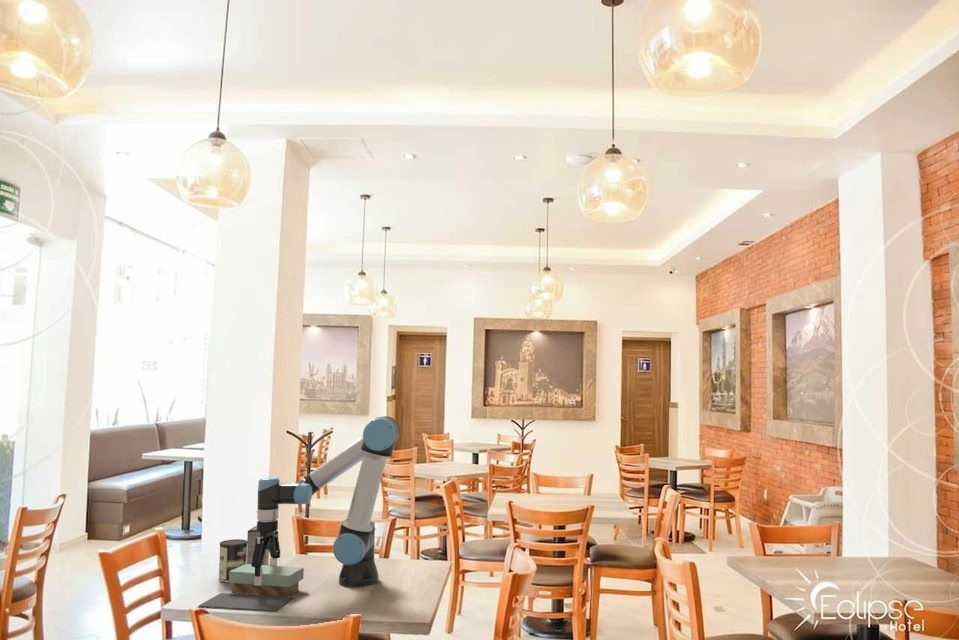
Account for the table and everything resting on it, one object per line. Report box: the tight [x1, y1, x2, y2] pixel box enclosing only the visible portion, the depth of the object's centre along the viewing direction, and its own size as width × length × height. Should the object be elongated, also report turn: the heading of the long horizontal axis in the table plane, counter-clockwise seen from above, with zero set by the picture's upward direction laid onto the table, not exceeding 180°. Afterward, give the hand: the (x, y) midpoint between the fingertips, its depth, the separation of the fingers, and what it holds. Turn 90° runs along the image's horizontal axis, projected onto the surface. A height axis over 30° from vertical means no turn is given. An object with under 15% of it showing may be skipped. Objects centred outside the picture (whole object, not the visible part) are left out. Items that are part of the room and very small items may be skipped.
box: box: [231, 581, 300, 596], centre depth 255 cm, size 22×9×7 cm, turn 75°
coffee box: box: [246, 525, 270, 565], centre depth 288 cm, size 9×6×16 cm
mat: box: [198, 592, 295, 613], centre depth 241 cm, size 28×15×1 cm, turn 81°
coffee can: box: [218, 538, 247, 583], centre depth 272 cm, size 10×10×14 cm
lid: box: [228, 563, 305, 587], centre depth 256 cm, size 24×11×4 cm, turn 76°
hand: (265, 580), depth 255 cm, fingers closed on lid, 11 cm apart
